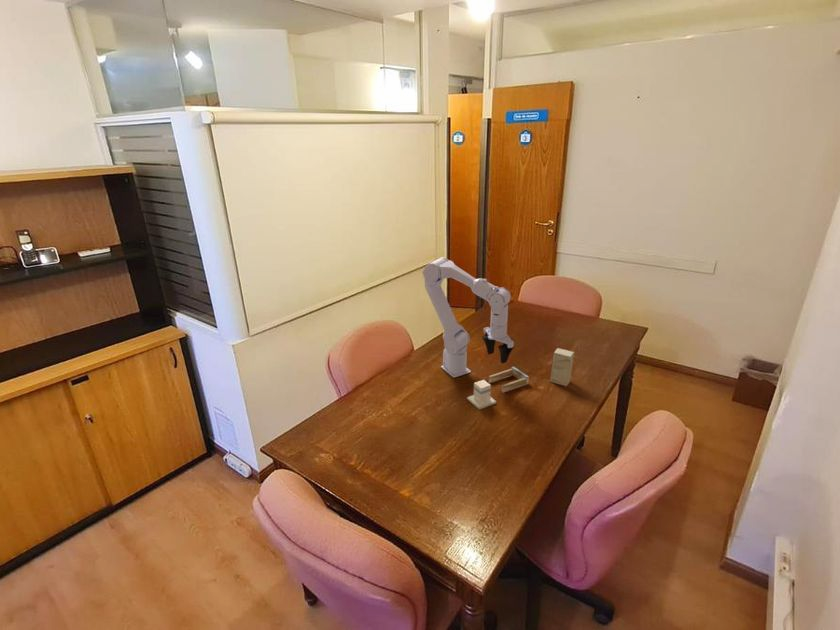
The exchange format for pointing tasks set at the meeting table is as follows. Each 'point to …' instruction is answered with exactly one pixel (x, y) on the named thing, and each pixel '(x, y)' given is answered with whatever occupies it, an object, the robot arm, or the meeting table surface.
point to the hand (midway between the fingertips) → (497, 357)
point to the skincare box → (562, 366)
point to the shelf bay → (507, 373)
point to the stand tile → (482, 405)
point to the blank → (482, 391)
